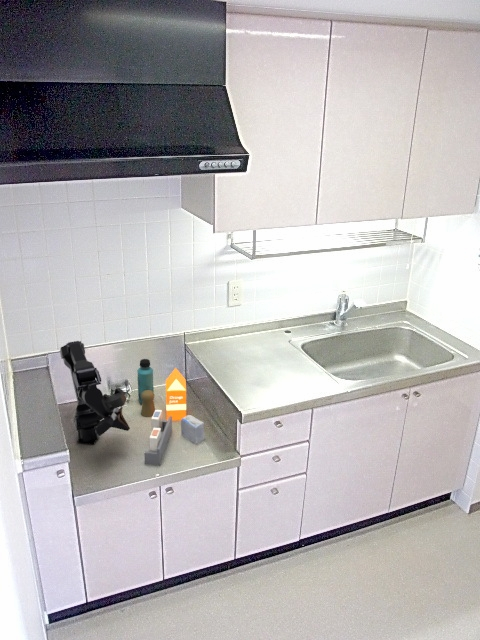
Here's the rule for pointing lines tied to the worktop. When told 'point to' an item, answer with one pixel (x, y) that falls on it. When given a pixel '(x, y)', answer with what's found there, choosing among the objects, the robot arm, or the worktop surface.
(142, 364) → the beverage bottle
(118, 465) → the worktop surface
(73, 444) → the worktop surface
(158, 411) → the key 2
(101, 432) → the robot arm
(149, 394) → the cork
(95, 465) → the worktop surface
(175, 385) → the orange juice
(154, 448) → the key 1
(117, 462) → the worktop surface
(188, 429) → the medicine box
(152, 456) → the grey holder stand
